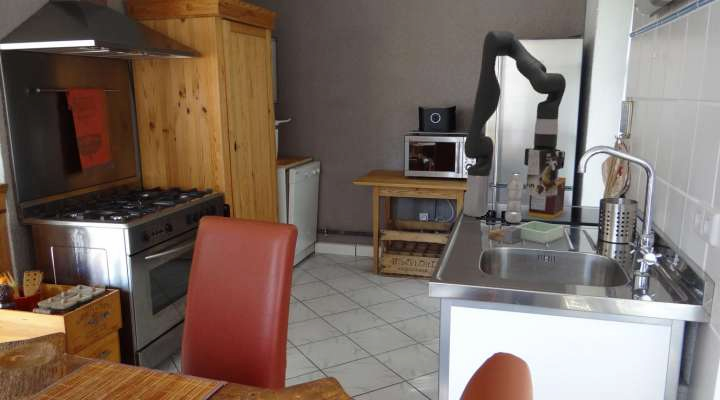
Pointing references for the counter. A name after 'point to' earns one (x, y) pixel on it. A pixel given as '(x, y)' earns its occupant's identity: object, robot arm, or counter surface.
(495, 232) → the brown square block
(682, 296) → the counter surface
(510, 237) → the block
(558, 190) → the supplement box
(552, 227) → the green tray
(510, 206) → the plastic bottle
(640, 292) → the counter surface
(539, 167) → the coffee box
